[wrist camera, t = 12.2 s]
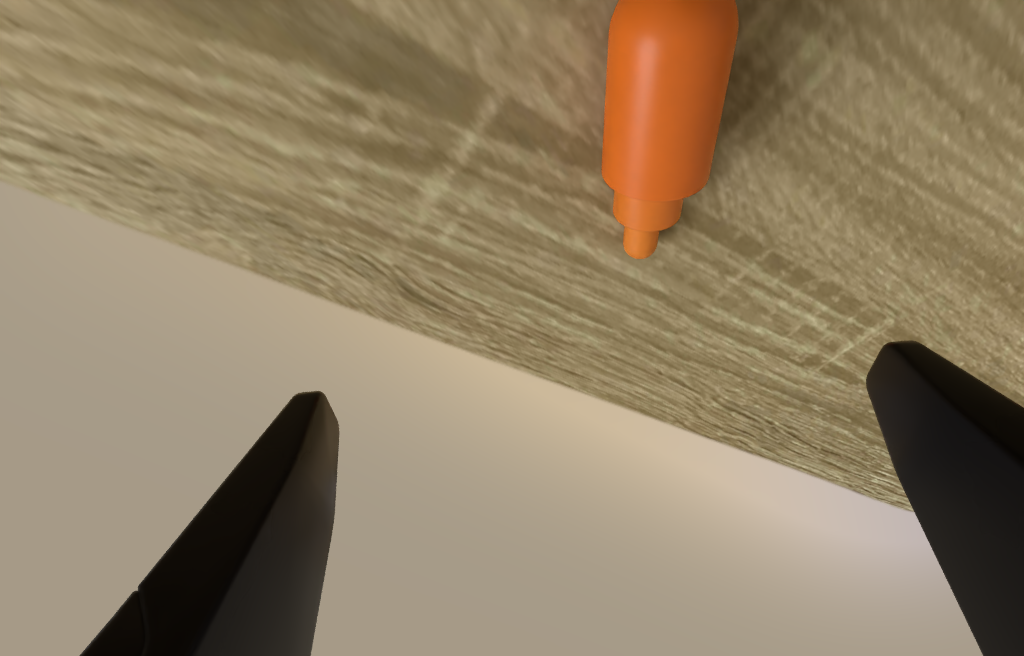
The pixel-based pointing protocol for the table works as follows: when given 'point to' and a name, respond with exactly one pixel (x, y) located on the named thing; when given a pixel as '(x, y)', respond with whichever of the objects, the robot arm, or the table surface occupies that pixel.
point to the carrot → (663, 108)
